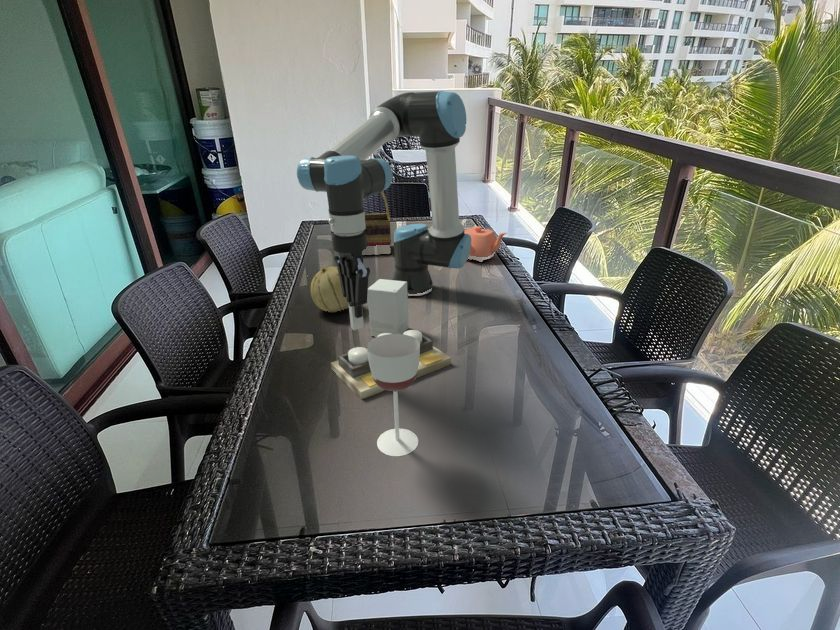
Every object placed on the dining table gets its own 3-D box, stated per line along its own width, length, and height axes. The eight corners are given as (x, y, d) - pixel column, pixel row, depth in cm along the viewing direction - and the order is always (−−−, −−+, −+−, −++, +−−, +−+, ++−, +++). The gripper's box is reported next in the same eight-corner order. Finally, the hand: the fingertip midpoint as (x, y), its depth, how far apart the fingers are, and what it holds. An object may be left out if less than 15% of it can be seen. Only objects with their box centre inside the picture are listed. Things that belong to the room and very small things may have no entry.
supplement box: (409, 327, 138) (408, 281, 132) (398, 341, 131) (396, 292, 124) (381, 323, 141) (379, 277, 135) (369, 336, 133) (366, 288, 127)
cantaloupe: (367, 309, 151) (364, 265, 145) (331, 324, 141) (326, 278, 135) (339, 297, 160) (335, 256, 154) (303, 310, 150) (298, 267, 144)
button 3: (399, 344, 123) (399, 333, 122) (415, 339, 126) (414, 328, 124) (410, 352, 119) (409, 340, 118) (425, 346, 122) (425, 335, 120)
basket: (332, 257, 201) (323, 175, 186) (333, 248, 214) (326, 170, 200) (392, 255, 204) (389, 172, 189) (390, 245, 217) (387, 168, 202)
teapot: (505, 263, 191) (507, 230, 185) (463, 267, 187) (463, 234, 181) (489, 251, 207) (491, 220, 201) (450, 254, 203) (450, 223, 197)
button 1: (345, 363, 115) (344, 351, 113) (363, 357, 117) (362, 345, 116) (355, 371, 111) (353, 359, 110) (373, 365, 114) (372, 353, 112)
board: (331, 369, 117) (329, 354, 115) (415, 340, 131) (415, 326, 129) (361, 399, 105) (360, 382, 103) (450, 364, 119) (451, 349, 117)
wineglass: (373, 429, 96) (367, 335, 86) (419, 426, 96) (417, 332, 87) (373, 458, 88) (366, 358, 79) (423, 455, 89) (422, 355, 79)
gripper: (320, 228, 103) (331, 322, 113) (346, 241, 93) (356, 343, 104) (350, 222, 107) (358, 314, 117) (378, 234, 97) (384, 333, 107)
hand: (357, 327), depth 110 cm, fingers closed
